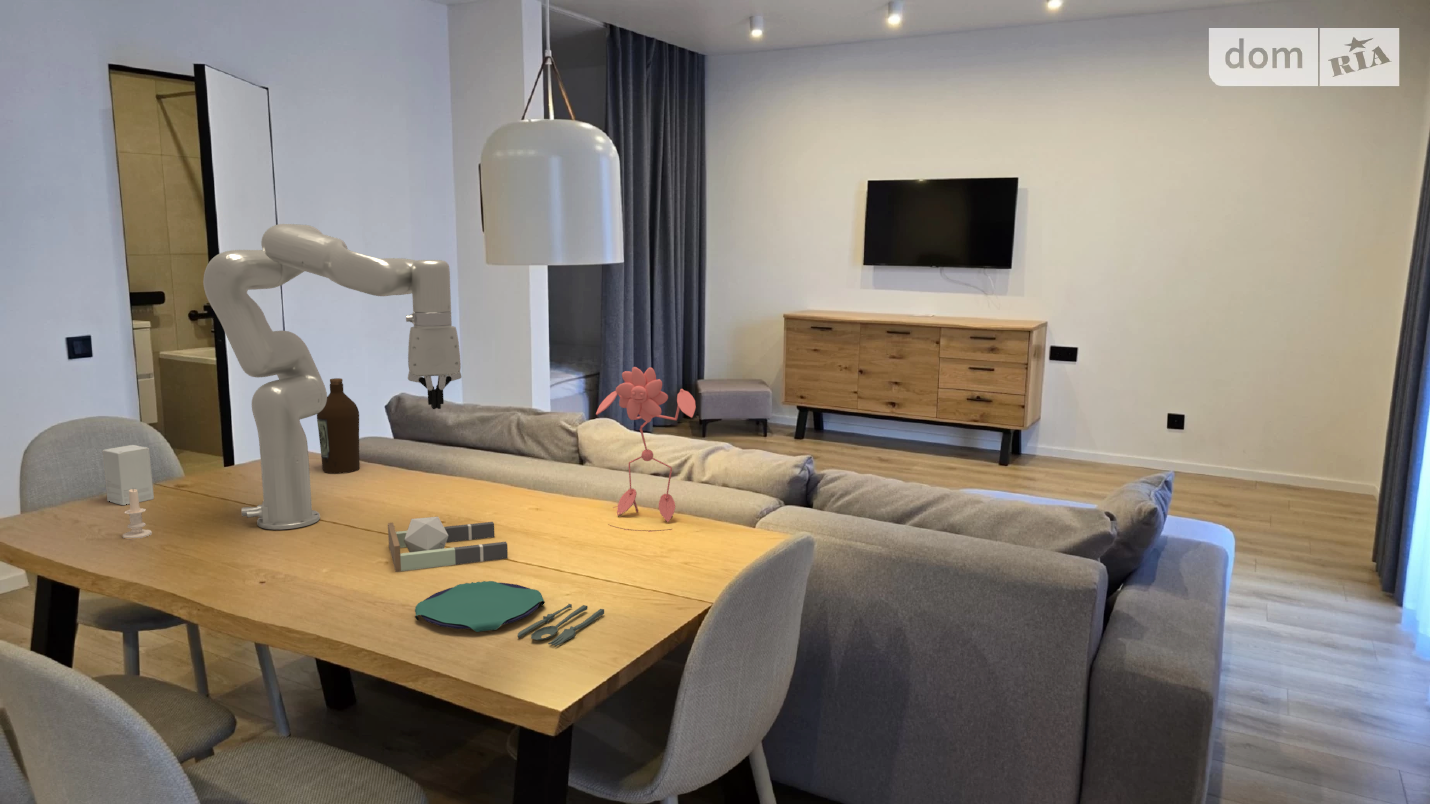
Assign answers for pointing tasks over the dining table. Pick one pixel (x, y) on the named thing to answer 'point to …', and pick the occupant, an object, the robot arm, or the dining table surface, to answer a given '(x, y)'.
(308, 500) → the robot arm
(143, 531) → the candle
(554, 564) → the dining table surface
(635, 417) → the figurine
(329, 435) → the olive oil
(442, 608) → the cutlery set
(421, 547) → the die
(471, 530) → the trap lane
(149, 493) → the supplement box
